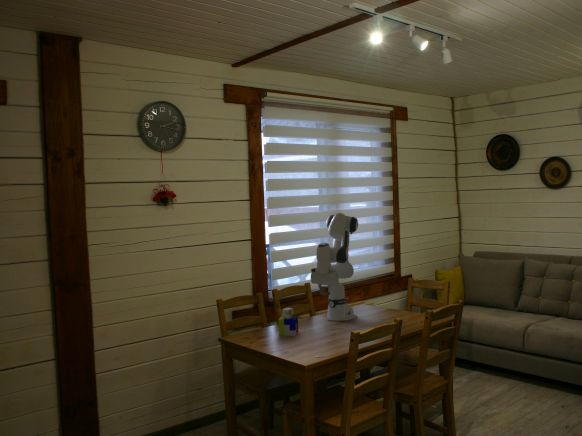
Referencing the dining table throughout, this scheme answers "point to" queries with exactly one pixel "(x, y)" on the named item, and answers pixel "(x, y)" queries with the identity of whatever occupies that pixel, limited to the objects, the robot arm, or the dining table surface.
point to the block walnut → (324, 290)
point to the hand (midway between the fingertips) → (325, 291)
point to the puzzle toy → (288, 326)
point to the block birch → (287, 313)
